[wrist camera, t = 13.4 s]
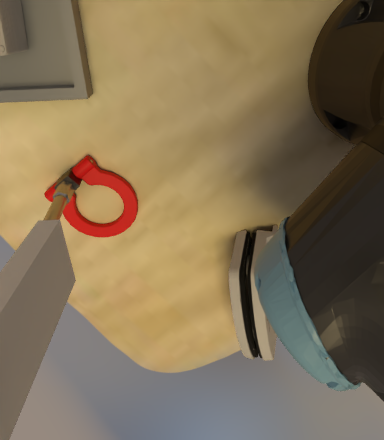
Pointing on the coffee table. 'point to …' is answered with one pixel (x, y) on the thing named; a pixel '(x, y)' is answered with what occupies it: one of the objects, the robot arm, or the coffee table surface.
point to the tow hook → (92, 175)
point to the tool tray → (48, 56)
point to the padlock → (12, 28)
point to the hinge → (250, 297)
